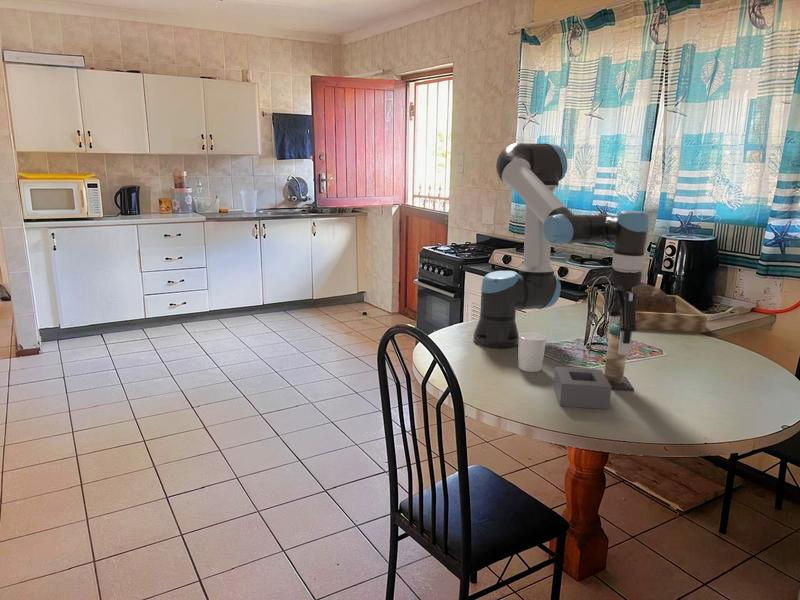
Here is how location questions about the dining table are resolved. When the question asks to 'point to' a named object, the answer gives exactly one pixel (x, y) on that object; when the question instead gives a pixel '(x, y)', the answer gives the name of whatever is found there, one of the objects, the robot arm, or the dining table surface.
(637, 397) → the dining table surface
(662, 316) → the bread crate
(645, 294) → the bread
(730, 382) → the dining table surface
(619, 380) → the plug
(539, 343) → the white cup
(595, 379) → the socket
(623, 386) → the mat
